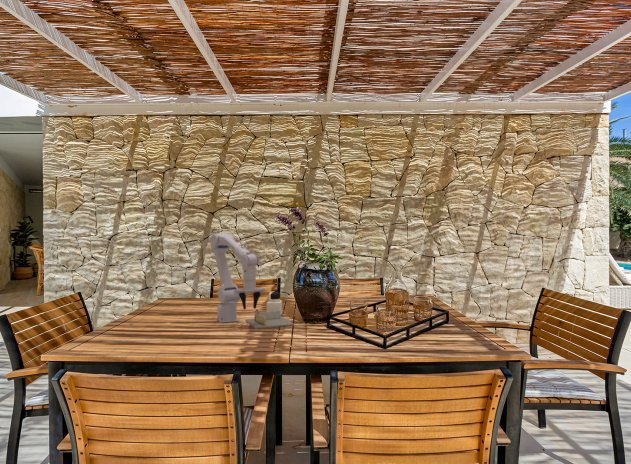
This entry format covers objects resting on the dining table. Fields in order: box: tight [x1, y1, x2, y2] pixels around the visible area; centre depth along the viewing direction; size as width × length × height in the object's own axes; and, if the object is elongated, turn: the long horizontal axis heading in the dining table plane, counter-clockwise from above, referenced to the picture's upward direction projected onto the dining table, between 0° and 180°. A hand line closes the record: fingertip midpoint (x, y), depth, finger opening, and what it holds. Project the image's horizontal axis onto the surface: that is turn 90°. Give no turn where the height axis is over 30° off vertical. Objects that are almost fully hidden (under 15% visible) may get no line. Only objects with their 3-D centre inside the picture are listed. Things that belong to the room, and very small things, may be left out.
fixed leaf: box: [254, 308, 281, 321], centre depth 230 cm, size 13×3×5 cm, turn 112°
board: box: [245, 315, 295, 330], centre depth 226 cm, size 19×19×1 cm
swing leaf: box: [254, 310, 266, 325], centre depth 224 cm, size 3×13×4 cm, turn 30°
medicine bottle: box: [266, 291, 283, 316], centre depth 246 cm, size 7×7×12 cm
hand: (249, 308), depth 219 cm, fingers open, 4 cm apart
